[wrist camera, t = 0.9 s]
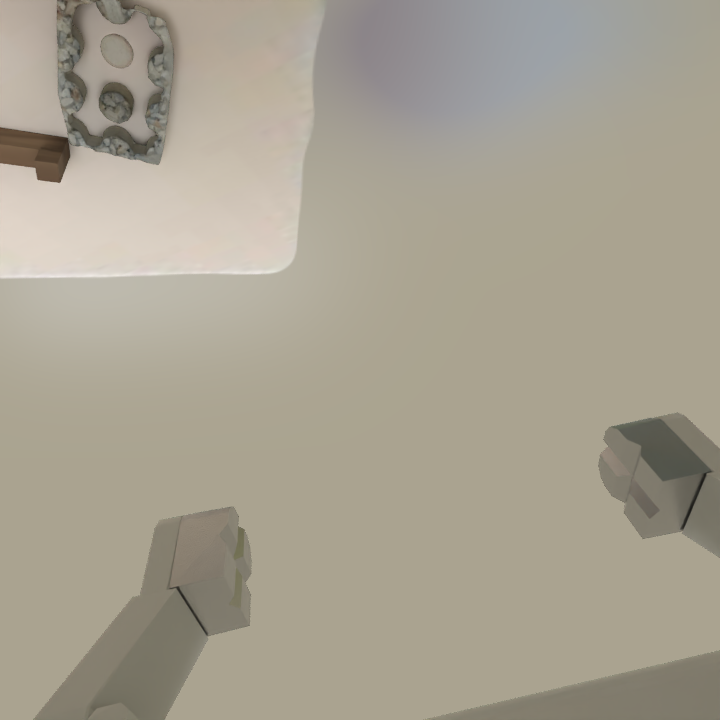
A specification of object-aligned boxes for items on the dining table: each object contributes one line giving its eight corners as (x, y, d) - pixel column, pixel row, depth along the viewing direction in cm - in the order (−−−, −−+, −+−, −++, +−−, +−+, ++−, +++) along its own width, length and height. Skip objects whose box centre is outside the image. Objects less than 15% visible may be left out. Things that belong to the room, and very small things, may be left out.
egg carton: (63, -26, 34) (52, -16, 31) (178, 16, 37) (178, 28, 34) (64, 129, 40) (55, 149, 38) (162, 154, 44) (161, 173, 41)
